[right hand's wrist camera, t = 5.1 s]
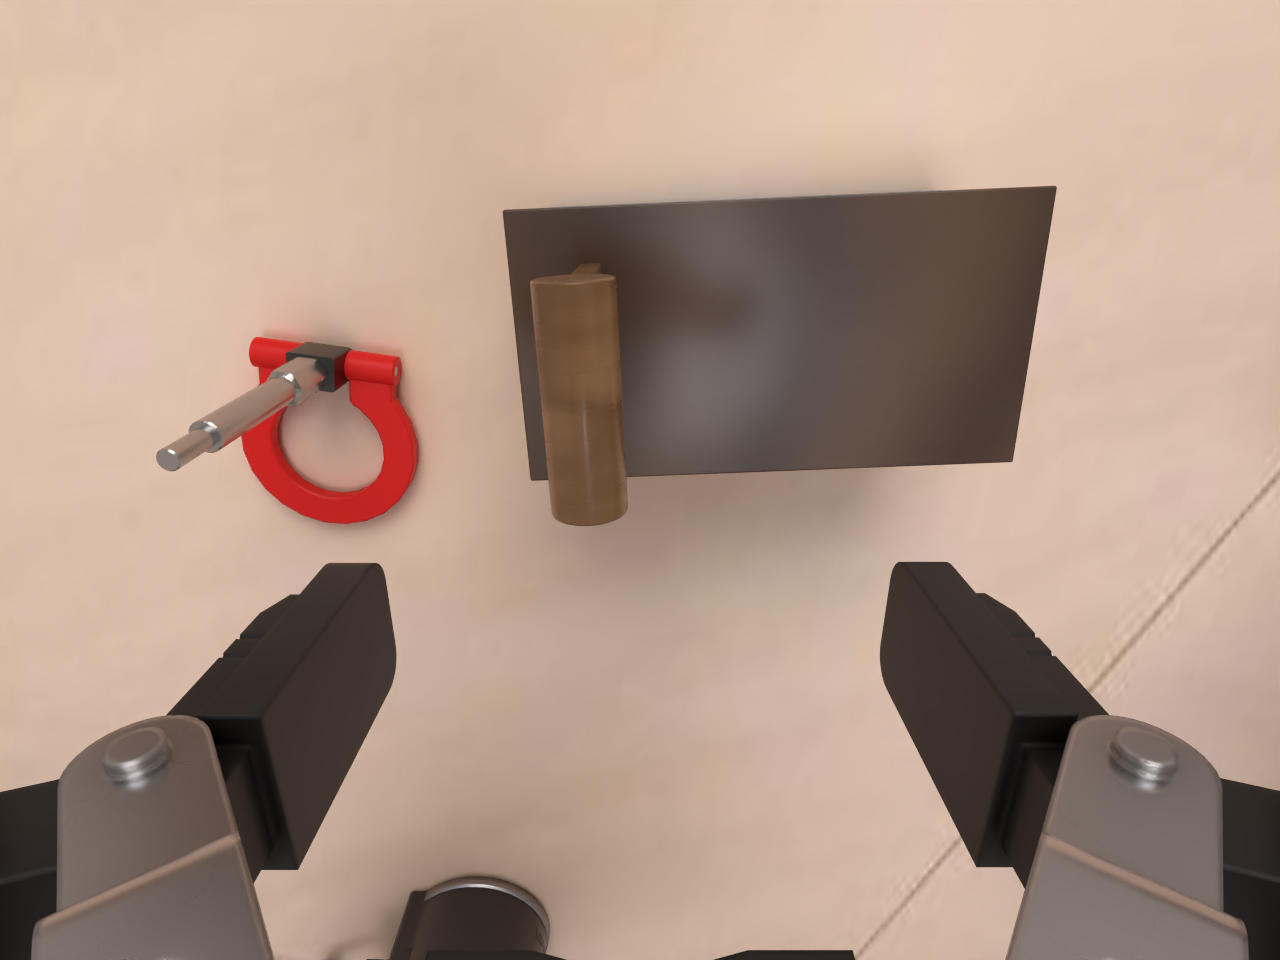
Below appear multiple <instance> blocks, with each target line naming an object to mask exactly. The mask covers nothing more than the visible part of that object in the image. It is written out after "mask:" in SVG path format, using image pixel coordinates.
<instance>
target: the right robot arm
mask: <svg viewBox="0 0 1280 960" xmlns="http://www.w3.org/2000/svg"><path fill="white" fill-rule="evenodd" d="M223 654H224V655H223V658H218V659H217V661H216V662H215V663H214V664H213V665H212V666H211V667H210V668H209V669H208V670H207V671H206V673H205V674H204V675H203V676H202V677H201V678H200V679H199V680H198V681H197V682H196V683H195V685H194V686H193V687H192V688H191V689H190V690H189V691H188V692H187V693H186V694H185V695H184V696H183V698H182V699H181V700H180V701H179V702H178V703H177V704H176V705H175V706H174V707H173V708H172V710H171V711H170V712H169V713H168V714H167V715H166V716H160V717H155V718H150V719H146V720H142V721H139V722H136V723H133V724H130V725H128V726H125V727H122V728H120V729H118V730H116V731H114V732H112V733H110V734H108V735H106V736H104V737H102V738H101V739H99V740H97V741H96V742H94V743H93V744H91V745H90V746H88V747H87V748H86V749H84V750H83V751H82V752H81V753H80V754H78V755H77V756H76V757H75V758H74V759H73V760H72V761H71V762H70V763H69V765H68V766H67V767H66V769H65V770H64V771H63V773H62V775H61V777H60V779H58V780H54V781H50V782H45V783H40V784H36V785H31V786H27V787H22V788H17V789H13V790H8V791H4V792H0V960H275V959H274V956H273V952H272V948H271V945H270V941H269V938H268V934H267V931H266V927H265V923H264V920H263V916H262V913H261V909H260V905H259V902H258V898H257V895H256V891H255V888H254V882H255V880H256V878H257V877H258V875H259V873H260V871H261V870H298V869H299V867H300V865H301V863H302V861H303V859H304V857H305V855H306V853H307V851H308V849H309V847H310V845H311V843H312V841H313V839H314V837H315V835H316V833H317V832H318V830H319V828H320V826H321V824H322V822H323V820H324V818H325V816H326V814H327V812H328V810H329V808H330V806H331V804H332V802H333V800H334V798H335V796H336V794H337V792H338V790H339V788H340V786H341V784H342V783H343V781H344V779H345V777H346V775H347V773H348V771H349V769H350V767H351V765H352V763H353V761H354V759H355V757H356V755H357V753H358V751H359V749H360V747H361V745H362V743H363V741H364V739H365V737H366V736H367V734H368V732H369V730H370V728H371V726H372V724H373V722H374V720H375V718H376V716H377V714H378V712H379V710H380V708H381V706H382V704H383V702H384V700H385V698H386V696H387V694H388V692H389V690H390V688H391V686H392V683H393V679H394V675H395V668H396V645H395V638H394V632H393V625H392V618H391V612H390V605H389V599H388V592H387V585H386V579H385V574H384V571H383V569H382V567H381V566H380V565H379V564H378V563H328V564H326V565H325V566H324V567H323V568H322V569H321V570H320V571H319V573H318V574H317V575H316V576H315V577H314V578H313V580H312V581H311V582H310V583H309V584H308V585H307V586H306V588H305V589H304V590H303V591H302V592H301V593H300V595H289V596H288V597H286V598H284V599H283V600H281V601H279V602H278V603H276V604H274V605H273V606H271V607H269V608H268V609H266V610H264V611H263V612H261V613H260V614H259V615H258V616H257V617H256V618H255V619H254V620H253V621H252V622H251V624H250V625H249V626H248V627H247V628H246V629H245V630H244V631H243V632H242V633H241V634H240V639H236V640H235V641H234V642H233V643H232V644H231V645H230V646H229V648H228V649H227V650H226V651H225V652H224V653H223ZM880 664H881V672H882V677H883V680H884V683H885V686H886V688H887V691H888V693H889V694H890V696H891V698H892V700H893V702H894V704H895V706H896V708H897V710H898V712H899V714H900V716H901V718H902V720H903V722H904V724H905V726H906V728H907V730H908V732H909V734H910V736H911V738H912V740H913V742H914V744H915V746H916V748H917V750H918V752H919V754H920V756H921V758H922V760H923V762H924V764H925V766H926V768H927V770H928V772H929V774H930V776H931V778H932V780H933V782H934V784H935V786H936V788H937V790H938V792H939V794H940V796H941V798H942V800H943V802H944V804H945V806H946V808H947V810H948V812H949V813H950V815H951V817H952V819H953V821H954V823H955V825H956V827H957V829H958V831H959V833H960V835H961V837H962V839H963V841H964V843H965V845H966V847H967V849H968V851H969V853H970V855H971V857H972V859H973V861H974V863H975V865H976V867H1013V868H1014V870H1015V872H1016V874H1017V876H1018V877H1019V879H1020V881H1021V883H1022V884H1023V886H1024V888H1025V891H1024V895H1023V898H1022V902H1021V905H1020V909H1019V913H1018V916H1017V920H1016V923H1015V927H1014V931H1013V934H1012V938H1011V941H1010V945H1009V948H1008V952H1007V956H1006V959H1005V960H1280V791H1277V790H1272V789H1268V788H1263V787H1259V786H1254V785H1249V784H1245V783H1240V782H1235V781H1231V780H1226V779H1222V778H1220V777H1219V775H1218V773H1217V771H1216V770H1215V769H1214V767H1213V766H1212V765H1211V763H1210V762H1209V761H1208V760H1207V759H1206V758H1205V757H1204V756H1203V755H1202V754H1200V753H1199V752H1198V751H1197V750H1196V749H1194V748H1193V747H1192V746H1190V745H1189V744H1187V743H1186V742H1184V741H1183V740H1181V739H1179V738H1178V737H1176V736H1174V735H1172V734H1170V733H1168V732H1166V731H1164V730H1162V729H1160V728H1158V727H1155V726H1152V725H1150V724H1147V723H1144V722H1141V721H1138V720H1134V719H1130V718H1125V717H1120V716H1112V715H1109V714H1108V713H1107V712H1106V711H1105V710H1104V709H1103V708H1102V706H1101V705H1100V704H1099V703H1098V702H1097V701H1096V700H1095V699H1094V698H1093V697H1092V696H1091V694H1090V693H1089V692H1088V691H1087V690H1086V689H1085V688H1084V687H1083V686H1082V685H1081V683H1080V682H1079V681H1078V680H1077V679H1076V678H1075V677H1074V676H1073V675H1072V674H1071V672H1070V671H1069V670H1068V669H1067V668H1066V667H1065V666H1064V665H1063V664H1062V663H1061V661H1060V660H1059V659H1058V658H1057V657H1056V656H1052V655H1051V650H1050V649H1049V648H1048V647H1047V646H1046V645H1045V644H1044V643H1043V642H1042V641H1041V639H1040V638H1035V633H1034V632H1033V631H1032V630H1031V629H1030V627H1029V626H1028V625H1027V624H1026V623H1025V622H1024V621H1023V620H1022V619H1021V618H1020V616H1019V615H1018V614H1017V613H1016V612H1015V611H1013V610H1012V609H1010V608H1008V607H1007V606H1005V605H1003V604H1002V603H1000V602H998V601H997V600H995V599H993V598H992V597H990V596H988V595H987V594H985V593H975V592H974V591H973V589H972V588H971V587H970V586H969V585H968V584H967V582H966V581H965V580H964V579H963V578H962V576H961V575H960V574H959V573H958V572H957V571H956V569H955V568H954V567H953V566H952V565H951V564H950V563H948V562H898V563H897V564H896V565H895V566H894V568H893V570H892V574H891V579H890V585H889V592H888V599H887V605H886V612H885V619H884V626H883V632H882V639H881V646H880ZM549 931H550V927H549V921H548V917H547V915H546V913H545V911H544V909H543V907H542V906H541V905H540V903H539V902H538V901H537V900H536V899H535V898H534V897H533V896H531V895H530V894H529V893H527V892H526V891H524V890H523V889H521V888H519V887H517V886H515V885H513V884H510V883H508V882H505V881H501V880H497V879H492V878H485V877H465V878H458V879H454V880H450V881H447V882H444V883H441V884H439V885H437V886H435V887H433V888H432V889H430V890H429V891H427V892H412V893H411V894H410V897H409V900H408V903H407V906H406V909H405V912H404V915H403V918H402V921H401V924H400V927H399V930H398V933H397V936H396V939H395V942H394V945H393V948H392V951H391V954H390V957H389V960H565V959H562V958H558V957H554V956H551V955H547V954H546V949H547V946H548V940H549ZM366 960H382V959H366ZM715 960H855V958H854V954H853V950H747V951H744V952H740V953H737V954H733V955H729V956H726V957H722V958H718V959H715Z"/></svg>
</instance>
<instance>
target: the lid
mask: <svg viewBox="0 0 1280 960" xmlns="http://www.w3.org/2000/svg"><path fill="white" fill-rule="evenodd" d="M1056 189H1057V187H1056V186H1040V187H1017V188H994V189H971V190H948V191H925V192H903V193H880V194H857V195H834V196H811V197H788V198H765V199H743V200H720V201H697V202H674V203H651V204H628V205H605V206H583V207H560V208H537V209H514V210H504V211H503V219H504V229H505V238H506V248H507V258H508V267H509V277H510V286H511V296H512V305H513V315H514V325H515V334H516V344H517V353H518V363H519V373H520V382H521V392H522V401H523V411H524V420H525V430H526V440H527V449H528V459H529V468H530V478H531V480H532V481H536V480H549V490H550V500H551V511H552V515H553V516H554V518H555V519H556V520H558V521H560V522H562V523H565V524H569V525H576V526H593V525H600V524H605V523H609V522H612V521H614V520H616V519H618V518H620V517H622V516H623V515H624V514H625V513H626V511H627V508H628V502H627V482H626V477H638V476H664V475H690V474H716V473H741V472H767V471H793V470H818V469H844V468H870V467H896V466H921V465H947V464H973V463H998V462H1012V461H1013V456H1014V449H1015V443H1016V437H1017V431H1018V425H1019V418H1020V412H1021V406H1022V400H1023V394H1024V387H1025V381H1026V375H1027V369H1028V363H1029V356H1030V350H1031V344H1032V338H1033V332H1034V325H1035V319H1036V313H1037V307H1038V301H1039V294H1040V288H1041V282H1042V276H1043V270H1044V263H1045V257H1046V251H1047V245H1048V239H1049V232H1050V226H1051V220H1052V214H1053V208H1054V201H1055V195H1056Z"/></svg>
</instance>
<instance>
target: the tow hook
mask: <svg viewBox="0 0 1280 960" xmlns="http://www.w3.org/2000/svg"><path fill="white" fill-rule="evenodd" d="M249 357H250V361H251V363H252V365H253V366H255V367H259V379H260V384H259V385H258V386H257V387H256V388H254V389H252V390H251V391H249V392H247V393H245V394H244V395H242V396H240V397H238V398H236V399H235V400H233V401H231V402H229V403H228V404H226V405H224V406H222V407H221V408H219V409H217V410H215V411H214V412H212V413H210V414H208V415H207V416H205V417H203V418H201V419H200V420H198V421H196V422H194V423H193V424H192V425H191V426H190V428H189V433H188V434H187V435H185V436H183V437H182V438H180V439H178V440H176V441H175V442H173V443H171V444H170V445H168V446H166V447H164V448H163V449H161V450H159V451H158V452H157V455H156V460H157V462H158V464H159V465H160V466H161V467H162V468H163V469H165V470H168V471H176V470H178V469H179V468H181V467H182V466H184V465H185V464H187V463H189V462H190V461H192V460H193V459H195V458H196V457H198V456H199V455H201V454H202V453H204V452H207V453H213V452H217V451H219V450H220V449H222V448H223V447H225V446H226V445H228V444H229V443H231V442H232V441H234V440H235V439H237V438H238V437H240V436H242V443H243V450H244V453H245V455H246V457H247V460H248V462H249V464H250V467H251V469H252V471H253V472H254V474H255V475H256V476H257V478H258V479H259V481H260V482H261V483H262V485H263V486H264V487H265V489H266V490H268V491H269V492H270V493H271V494H272V495H273V496H274V497H275V498H277V499H278V500H279V501H280V502H281V503H282V504H284V505H286V506H287V507H289V508H291V509H293V510H294V511H296V512H298V513H300V514H301V515H304V516H307V517H310V518H313V519H316V520H319V521H323V522H329V523H341V524H349V523H356V522H362V521H367V520H369V519H372V518H374V517H376V516H379V515H381V514H383V513H385V512H386V511H387V510H389V509H390V508H391V507H392V506H393V505H395V504H396V503H397V502H398V501H399V500H400V499H401V497H402V496H403V495H404V493H405V491H406V490H407V488H408V487H409V485H410V484H411V482H412V480H413V477H414V474H415V470H416V466H417V462H418V453H417V439H416V436H415V433H414V430H413V426H412V423H411V420H410V418H409V417H408V415H407V414H406V412H405V410H404V409H403V407H402V406H401V404H400V402H399V401H398V400H397V399H396V386H397V384H398V383H399V380H400V376H401V360H400V358H399V357H396V356H389V355H382V354H374V353H367V352H360V351H353V350H352V349H350V348H347V347H340V346H333V345H326V344H319V343H312V342H306V343H296V342H289V341H282V340H275V339H268V338H261V337H256V338H254V339H253V340H252V342H251V345H250V349H249ZM348 381H349V390H350V401H351V403H352V404H353V406H355V407H357V408H358V409H360V410H361V411H362V412H363V413H364V414H365V415H366V416H367V417H368V418H369V419H370V420H371V421H372V423H373V425H374V426H375V428H376V429H377V431H378V432H379V435H380V438H381V441H382V444H383V451H384V462H383V466H382V470H381V473H380V474H379V476H378V478H377V479H376V480H375V481H374V482H373V483H372V484H371V485H369V486H367V487H365V488H363V489H361V490H358V491H353V492H347V493H341V492H330V491H327V490H324V489H321V488H318V487H316V486H314V485H312V484H310V483H309V482H307V481H305V480H304V479H303V478H301V477H300V476H299V475H298V474H297V473H296V472H295V471H294V470H293V469H292V468H291V466H290V465H289V464H288V462H287V461H286V459H285V458H284V456H283V453H282V451H281V448H280V446H279V439H278V426H279V421H280V418H281V416H282V414H283V412H284V410H285V408H286V407H287V406H297V405H298V404H300V403H301V402H303V401H304V400H306V399H307V398H308V397H310V396H311V395H313V394H314V393H316V392H317V391H327V392H334V391H336V390H337V389H338V388H340V387H341V386H343V385H344V384H345V383H347V382H348Z"/></svg>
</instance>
